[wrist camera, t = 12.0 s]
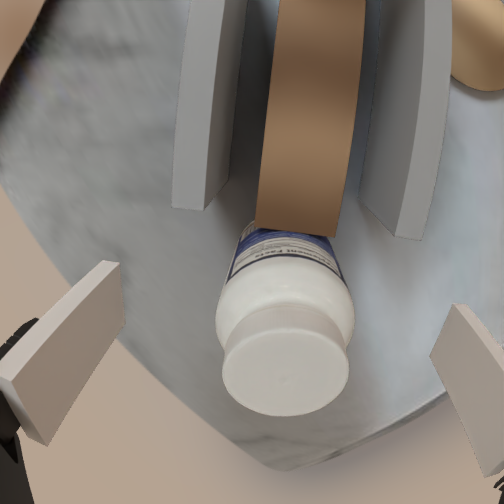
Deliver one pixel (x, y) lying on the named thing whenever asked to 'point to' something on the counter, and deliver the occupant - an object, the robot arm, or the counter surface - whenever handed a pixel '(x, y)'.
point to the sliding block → (310, 115)
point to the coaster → (478, 43)
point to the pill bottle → (284, 323)
